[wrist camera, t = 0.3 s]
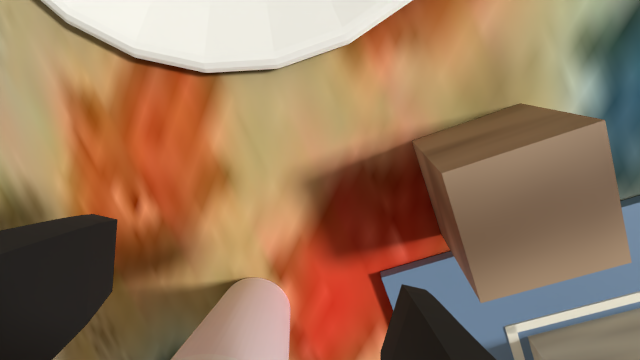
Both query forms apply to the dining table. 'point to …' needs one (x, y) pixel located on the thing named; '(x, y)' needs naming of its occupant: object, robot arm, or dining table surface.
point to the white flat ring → (225, 29)
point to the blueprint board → (526, 296)
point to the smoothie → (243, 325)
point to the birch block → (591, 339)
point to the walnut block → (525, 198)
